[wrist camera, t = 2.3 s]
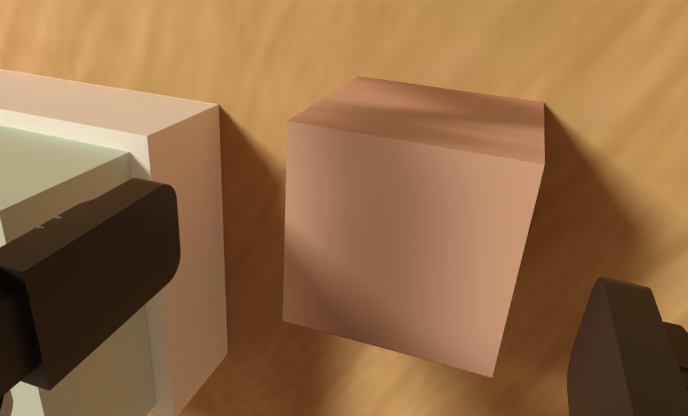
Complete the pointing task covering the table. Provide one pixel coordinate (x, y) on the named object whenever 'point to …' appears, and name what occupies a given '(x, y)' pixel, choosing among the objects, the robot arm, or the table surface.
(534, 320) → the table surface
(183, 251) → the tower base
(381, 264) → the terracotta cube
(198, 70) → the table surface
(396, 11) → the table surface
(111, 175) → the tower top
